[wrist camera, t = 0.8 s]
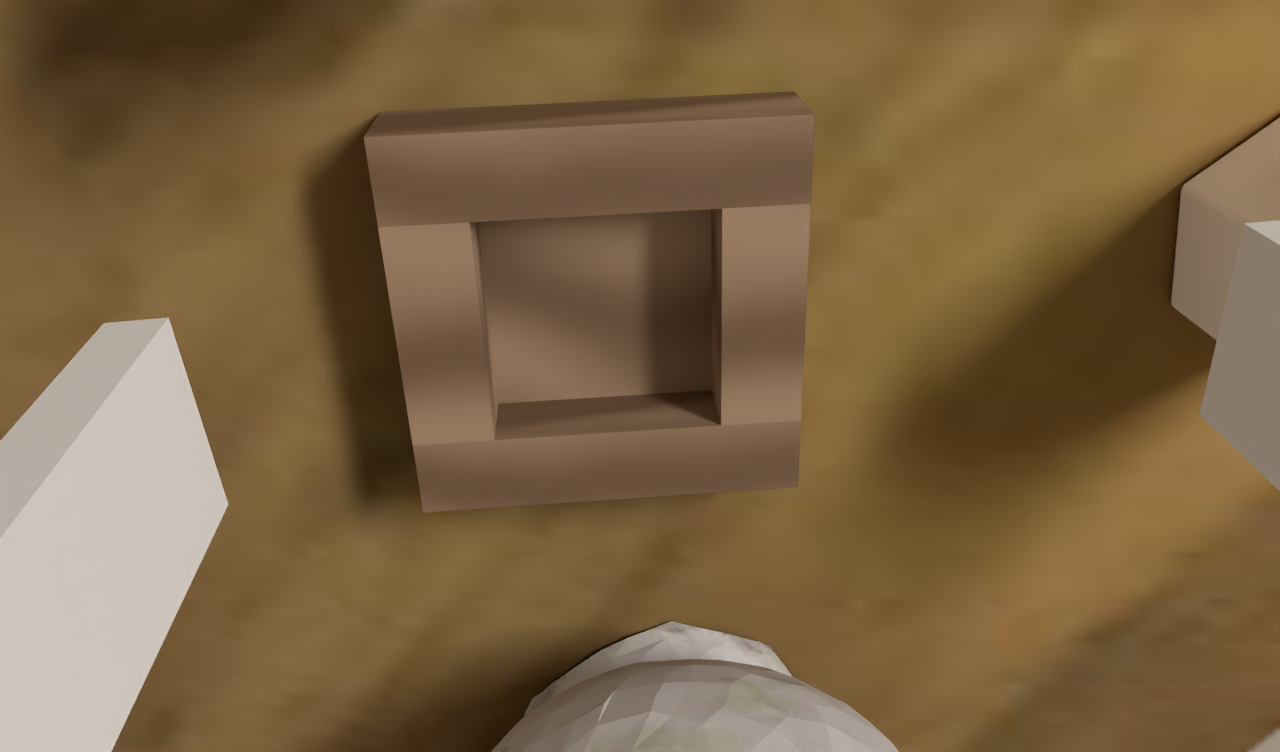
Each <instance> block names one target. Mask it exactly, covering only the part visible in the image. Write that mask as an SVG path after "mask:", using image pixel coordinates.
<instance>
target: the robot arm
mask: <svg viewBox="0 0 1280 752" xmlns="http://www.w3.org/2000/svg"><path fill="white" fill-rule="evenodd" d="M1200 415H1201V416H1202V417H1203V418H1204V419H1205V420H1206V421H1207V422H1208V423H1209V424H1210V425H1211V426H1212V427H1213V428H1214V429H1215V430H1216V431H1217V432H1218V433H1219V434H1221V435H1222V436H1223V437H1224V438H1225V439H1226V440H1227V441H1228V442H1229V443H1230V444H1231V445H1232V446H1233V447H1234V448H1235V449H1236V450H1237V451H1238V452H1239V453H1240V454H1241V455H1242V456H1244V457H1245V458H1246V459H1247V460H1248V461H1249V462H1250V463H1251V464H1252V465H1253V466H1254V467H1255V468H1256V469H1257V470H1258V471H1259V472H1260V473H1261V474H1262V475H1263V476H1264V477H1266V478H1267V479H1268V480H1269V481H1270V482H1271V483H1272V484H1273V485H1274V486H1275V487H1276V488H1277V489H1278V490H1279V491H1280V220H1277V221H1265V222H1254V223H1244V226H1243V230H1242V235H1241V239H1240V243H1239V247H1238V252H1237V256H1236V260H1235V265H1234V269H1233V273H1232V277H1231V282H1230V286H1229V290H1228V295H1227V299H1226V303H1225V307H1224V312H1223V316H1222V320H1221V325H1220V329H1219V333H1218V337H1217V342H1216V346H1215V350H1214V355H1213V359H1212V363H1211V368H1210V372H1209V376H1208V380H1207V385H1206V389H1205V393H1204V398H1203V402H1202V406H1201V410H1200ZM227 506H228V502H227V499H226V496H225V493H224V489H223V486H222V483H221V480H220V477H219V474H218V471H217V468H216V464H215V461H214V458H213V455H212V452H211V449H210V446H209V443H208V440H207V436H206V433H205V430H204V427H203V424H202V421H201V418H200V415H199V411H198V408H197V405H196V402H195V399H194V396H193V393H192V390H191V386H190V383H189V380H188V377H187V374H186V371H185V368H184V365H183V362H182V358H181V355H180V352H179V349H178V346H177V343H176V340H175V337H174V333H173V330H172V327H171V324H170V321H169V318H159V319H147V320H136V321H124V322H113V323H104V324H103V325H102V326H101V327H100V328H99V329H98V330H97V332H96V333H95V334H94V335H93V336H92V337H91V338H90V340H89V341H88V342H87V343H86V344H85V345H84V346H83V347H82V349H81V350H80V351H79V352H78V353H77V354H76V355H75V357H74V358H73V359H72V360H71V361H70V362H69V363H68V365H67V366H66V367H65V368H64V369H63V370H62V371H61V373H60V374H59V375H58V376H57V377H56V378H55V379H54V381H53V382H52V383H51V384H50V385H49V386H48V387H47V388H46V390H45V391H44V392H43V393H42V394H41V395H40V396H39V398H38V399H37V400H36V401H35V402H34V403H33V404H32V406H31V407H30V408H29V409H28V410H27V411H26V412H25V414H24V415H23V416H22V417H21V418H20V419H19V420H18V422H17V423H16V424H15V425H14V426H13V427H12V428H11V429H10V431H9V432H8V433H7V434H6V435H5V436H4V437H3V439H2V440H1V441H0V752H111V751H112V749H113V747H114V745H115V743H116V741H117V738H118V736H119V734H120V732H121V730H122V728H123V726H124V724H125V722H126V719H127V717H128V715H129V713H130V711H131V709H132V707H133V705H134V703H135V700H136V698H137V696H138V694H139V692H140V690H141V688H142V686H143V684H144V681H145V679H146V677H147V675H148V673H149V671H150V669H151V667H152V665H153V662H154V660H155V658H156V656H157V654H158V652H159V650H160V648H161V646H162V643H163V641H164V639H165V637H166V635H167V633H168V631H169V629H170V627H171V624H172V622H173V620H174V618H175V616H176V614H177V612H178V610H179V608H180V605H181V603H182V601H183V599H184V597H185V595H186V593H187V591H188V589H189V586H190V584H191V582H192V580H193V578H194V576H195V574H196V572H197V570H198V567H199V565H200V563H201V561H202V559H203V557H204V555H205V553H206V551H207V548H208V546H209V544H210V542H211V540H212V538H213V536H214V534H215V532H216V529H217V527H218V525H219V523H220V521H221V519H222V517H223V515H224V513H225V510H226V508H227Z"/></svg>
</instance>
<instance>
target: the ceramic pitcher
mask: <svg viewBox="0 0 1280 752" xmlns="http://www.w3.org/2000/svg"><path fill="white" fill-rule="evenodd" d="M491 752H899V751H898V750H897V749H896V748H895V746H894V745H893V744H892V743H891V741H890V740H889V739H887V738H886V737H885V736H884V735H883V734H882V733H881V732H880V731H879V730H878V729H877V728H875V727H874V726H873V725H872V724H871V723H870V722H869V721H868V720H866V719H865V718H864V717H863V716H861V715H860V714H859V713H858V712H856V711H855V710H854V709H852V708H851V707H850V706H849V705H847V704H846V703H844V702H842V701H840V700H838V699H836V698H834V697H832V696H830V695H828V694H826V693H824V692H822V691H820V690H818V689H816V688H814V687H812V686H810V685H808V684H806V683H804V682H802V681H800V680H798V679H796V678H794V677H792V675H791V674H790V672H789V671H788V670H787V668H786V667H785V666H784V664H783V663H782V662H781V660H780V659H779V658H778V657H777V655H776V654H775V652H774V651H773V649H772V648H771V647H770V646H768V645H766V644H763V643H761V642H758V641H753V640H749V639H745V638H741V637H738V636H734V635H730V634H727V633H722V632H717V631H712V630H708V629H703V628H698V627H694V626H690V625H685V624H681V623H676V622H672V621H670V622H668V623H665V624H663V625H660V626H658V627H655V628H653V629H650V630H647V631H645V632H642V633H639V634H637V635H634V636H631V637H628V638H626V639H624V640H622V641H620V642H618V643H615V644H613V645H611V646H609V647H607V648H605V649H603V650H601V651H599V652H597V653H596V654H594V655H593V656H591V657H590V658H588V659H587V660H585V661H584V662H582V663H581V664H579V665H578V666H576V667H575V668H574V669H572V670H571V671H569V672H568V673H567V674H565V675H564V676H562V677H561V678H559V679H558V680H556V681H555V682H553V683H552V684H550V685H549V686H548V687H547V688H546V689H545V690H544V691H543V692H541V693H540V694H538V695H537V696H535V697H534V698H532V700H531V702H530V704H529V706H528V708H527V710H526V712H525V714H524V717H523V719H521V720H520V721H519V722H518V723H517V724H516V725H515V726H514V727H513V728H512V729H511V730H510V731H509V732H508V734H507V735H506V736H505V737H504V738H503V739H502V740H501V741H500V743H499V744H498V745H497V746H496V747H495V748H494V749H493V750H492V751H491Z"/></svg>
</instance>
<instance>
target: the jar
mask: <svg viewBox="0 0 1280 752" xmlns="http://www.w3.org/2000/svg"><path fill="white" fill-rule="evenodd" d="M1277 220H1280V117H1279V118H1278V119H1277V120H1275V121H1274V122H1272V123H1271V124H1270V125H1268V126H1267V127H1265V128H1264V129H1262V130H1261V131H1259V132H1258V133H1257V134H1255V135H1254V136H1252V137H1251V138H1249V139H1248V140H1247V141H1245V142H1244V143H1242V144H1241V145H1239V146H1238V147H1237V148H1235V149H1234V150H1232V151H1231V152H1229V153H1228V154H1227V155H1225V156H1224V157H1222V158H1221V159H1219V160H1218V161H1217V162H1215V163H1214V164H1212V165H1211V166H1209V167H1208V168H1207V169H1205V170H1204V171H1202V172H1201V173H1199V174H1198V175H1196V176H1195V177H1193V178H1192V179H1191V180H1189V181H1188V182H1186V183H1185V184H1184V185H1183V186H1182V188H1181V196H1180V208H1179V219H1178V230H1177V241H1176V253H1175V264H1174V275H1173V285H1172V296H1171V304H1172V306H1173V307H1174V308H1175V309H1176V310H1177V311H1178V312H1180V313H1181V314H1182V315H1184V316H1185V317H1186V318H1188V319H1189V320H1190V321H1191V322H1193V323H1194V324H1195V325H1197V326H1198V327H1199V328H1201V329H1202V330H1203V331H1204V332H1206V333H1207V334H1208V335H1210V336H1211V337H1212V338H1214V339H1215V340H1216V341H1217V337H1218V333H1219V329H1220V325H1221V320H1222V316H1223V312H1224V307H1225V303H1226V299H1227V295H1228V290H1229V286H1230V282H1231V277H1232V273H1233V269H1234V265H1235V260H1236V256H1237V252H1238V247H1239V243H1240V239H1241V235H1242V230H1243V226H1244V223H1254V222H1265V221H1277Z"/></svg>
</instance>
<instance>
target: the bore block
mask: <svg viewBox="0 0 1280 752" xmlns="http://www.w3.org/2000/svg"><path fill="white" fill-rule="evenodd" d="M814 123H815V114H814V113H813V112H812V111H811V110H810V109H809V107H808V106H807V105H806V104H805V103H804V102H803V101H802V100H801V99H800V98H799V97H798V96H797V94H796V93H795V92H778V93H758V94H738V95H717V96H697V97H677V98H657V99H637V100H617V101H597V102H577V103H557V104H536V105H516V106H496V107H476V108H456V109H436V110H416V111H396V112H379V114H378V116H377V117H376V119H375V120H374V122H373V123H372V125H371V127H370V128H369V130H368V131H367V133H366V134H365V136H364V143H365V149H366V155H367V162H368V168H369V174H370V181H371V187H372V193H373V199H374V206H375V212H376V218H377V225H378V231H379V237H380V243H381V250H382V256H383V262H384V269H385V275H386V281H387V287H388V294H389V300H390V306H391V313H392V319H393V325H394V331H395V338H396V344H397V350H398V357H399V363H400V369H401V375H402V382H403V388H404V394H405V401H406V407H407V413H408V419H409V426H410V432H411V438H412V445H413V451H414V457H415V463H416V470H417V476H418V482H419V489H420V495H421V501H422V507H423V513H425V512H439V511H454V510H469V509H483V508H498V507H513V506H528V505H542V504H557V503H572V502H586V501H601V500H616V499H630V498H645V497H660V496H674V495H689V494H704V493H718V492H733V491H748V490H762V489H777V488H792V487H798V471H799V450H800V428H801V406H802V384H803V362H804V341H805V319H806V297H807V275H808V254H809V232H810V210H811V188H812V166H813V145H814Z"/></svg>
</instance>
